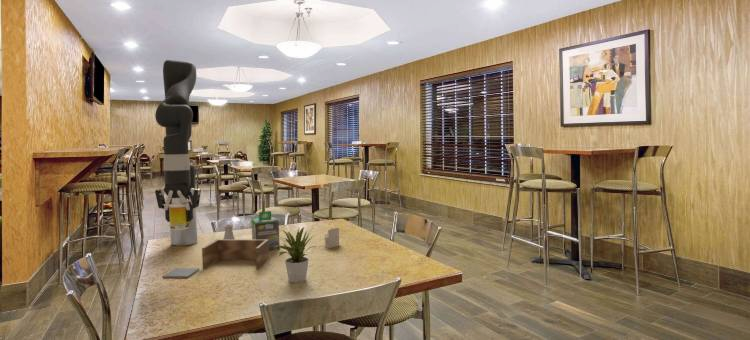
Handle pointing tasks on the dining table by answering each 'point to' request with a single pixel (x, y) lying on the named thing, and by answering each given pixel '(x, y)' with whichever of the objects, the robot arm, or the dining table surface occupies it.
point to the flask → (228, 233)
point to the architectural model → (332, 238)
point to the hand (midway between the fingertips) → (179, 221)
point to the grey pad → (181, 273)
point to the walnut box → (236, 251)
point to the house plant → (296, 256)
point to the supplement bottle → (178, 215)
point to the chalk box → (266, 229)
